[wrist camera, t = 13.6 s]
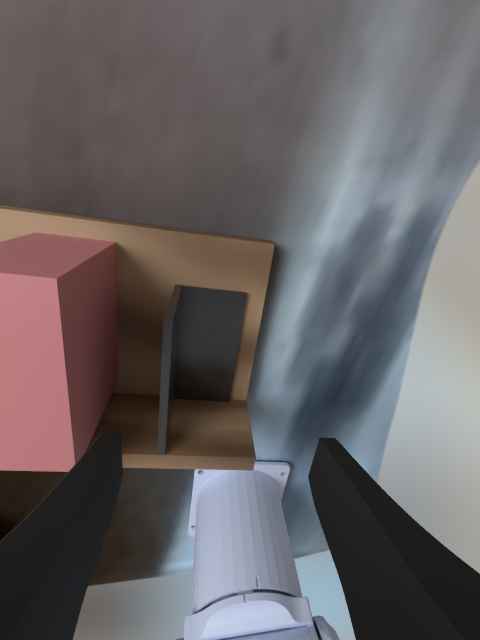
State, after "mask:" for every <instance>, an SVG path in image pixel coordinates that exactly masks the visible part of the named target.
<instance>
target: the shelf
mask: <svg viewBox="0 0 480 640" xmlns="http://www.w3.org/2000/svg"><path fill="white" fill-rule="evenodd" d="M35 232H39V233H47V234H55V235H63V236H71V237H79V238H88V239H96V240H104V241H112V242H116V277H117V327H118V377H119V380H118V382H117V385H116V387H115V389H114V391H113V393H112V395H111V398H110V400H109V402H108V404H107V406H106V408H105V410H104V413H103V415H102V417H101V419H100V421H99V423H98V426H97V428H96V430H95V432H94V434H93V436H92V438H91V441H90V443H89V445H88V447H87V449H86V451H87V450H88V448H89V447H90V446H91V445H92V443H93V442H94V441H95V440H96V438H97V437H98V436H99V434H101V433H102V432H121V439H122V464H123V468H163V469H205V470H247V471H253V469H254V464H255V460H256V456H255V450H254V444H253V438H252V432H251V426H250V420H249V414H248V408H247V402H246V399H247V393H248V388H249V382H250V377H251V371H252V366H253V361H254V355H255V350H256V344H257V339H258V333H259V328H260V323H261V317H262V312H263V306H264V301H265V295H266V290H267V284H268V279H269V274H270V268H271V263H272V257H273V252H274V246H275V244H274V243H273V242H272V241H269V240H261V239H253V238H246V237H238V236H231V235H223V234H216V233H208V232H200V231H193V230H185V229H178V228H170V227H162V226H155V225H147V224H140V223H132V222H125V221H117V220H109V219H102V218H94V217H87V216H79V215H72V214H64V213H56V212H49V211H41V210H34V209H26V208H18V207H11V206H3V205H0V242H3V241H6V240H10V239H13V238H17V237H21V236H24V235H28V234H31V233H35ZM175 285H185V286H194V287H203V288H213V289H222V290H231V291H241V292H246V293H247V296H246V302H245V308H244V315H243V321H242V327H241V334H240V340H239V346H238V353H237V359H236V365H235V372H234V378H233V384H232V391H231V397H230V402H219V401H201V400H183V399H174V403H173V409H172V415H171V421H170V428H169V434H168V440H167V446H166V452H165V455H157V451H158V429H159V407H160V385H161V363H162V341H163V319H164V316H165V313H166V310H167V308H168V305H169V302H170V299H171V296H172V293H173V290H174V287H175ZM86 451H85V452H86Z"/></svg>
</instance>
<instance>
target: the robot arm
mask: <svg viewBox="0 0 480 640" xmlns="http://www.w3.org/2000/svg"><path fill="white" fill-rule="evenodd" d="M289 472H290V466H289V464H288V463H286V462H258V461H255V464H254V469H253V471H247V470H205V469H195V473H194V482H193V491H192V499H191V508H190V517H189V526H188V535H189V536H190V537H195V550H194V577H193V598H192V615H187V616H186V617H185V627H184V638H179V639H176V640H339V637H338V635H337V633H336V631H335V630H334V629H333V628H332V627H331V626H330V625H329V624H328V623H327V622H326V620H325V619H324V618H323V617H322V616H314V617H312V614H311V610H310V606H309V602H308V598H307V597H302V593H301V589H300V584H299V580H298V575H297V571H296V567H295V562H294V557H293V553H292V549H291V544H290V540H289V535H288V531H287V526H286V522H285V517H284V513H283V508H282V504H281V500H282V496H283V493H284V489H285V486H286V482H287V479H288V475H289ZM122 476H123V464H122V439H121V432H102V433H101V434H99V436H98V437H97V438H96V440H95V441H94V442H93V443H92V445H91V446H90V447H89V448H88V450H87V451H86V452H85V453H84V454H83V456H82V457H81V458H80V459H79V460H78V461H77V463H76V464H75V465H74V466H73V467H72V468H71V470H70V471H69V472H68V473H67V474H66V475H65V476H64V477H63V478H62V480H61V481H60V482H59V483H58V484H57V485H56V486H55V487H54V488H53V490H52V491H51V492H50V493H49V494H48V495H47V496H46V497H45V498H44V499H43V500H42V501H41V502H40V503H39V504H38V505H37V506H36V507H35V508H34V509H33V510H32V511H31V512H30V513H29V514H28V515H27V516H26V517H25V518H24V519H23V520H22V521H21V522H20V523H19V524H18V525H17V526H16V527H15V528H14V529H13V530H12V531H11V532H10V533H8V534H7V535H6V536H5V537H4V538H3V539H2V540H1V541H0V640H73V636H74V632H75V628H76V624H77V621H78V617H79V614H80V610H81V606H82V602H83V599H84V596H85V593H86V590H87V587H88V583H89V581H90V578H91V575H92V572H93V569H94V566H95V563H96V561H97V558H98V555H99V552H100V549H101V546H102V543H103V541H104V538H105V535H106V532H107V529H108V526H109V523H110V520H111V518H112V515H113V512H114V509H115V506H116V502H117V498H118V493H119V489H120V485H121V481H122ZM308 478H309V482H310V487H311V492H312V496H313V500H314V505H315V508H316V511H317V514H318V517H319V520H320V523H321V526H322V529H323V532H324V535H325V537H326V540H327V543H328V546H329V549H330V552H331V555H332V558H333V561H334V563H335V566H336V569H337V572H338V575H339V578H340V581H341V585H342V588H343V591H344V594H345V599H346V602H347V606H348V610H349V614H350V618H351V622H352V626H353V629H354V634H355V638H356V640H480V574H479V573H478V572H476V571H475V570H474V569H473V568H471V567H470V566H469V565H468V564H466V563H465V562H464V561H462V560H461V559H460V558H459V557H457V556H456V555H455V554H454V553H452V552H451V551H450V550H449V549H447V548H446V547H445V546H444V545H443V544H441V543H440V542H439V541H438V540H437V539H435V538H434V537H433V536H432V535H431V534H430V533H428V532H427V531H426V530H425V529H424V528H423V527H421V526H420V525H419V524H418V523H417V522H416V521H415V520H414V519H413V518H412V517H411V516H409V515H408V514H407V513H406V512H405V511H404V510H403V509H402V508H401V507H400V506H399V505H398V504H397V503H396V502H395V501H394V500H393V499H392V498H391V497H390V496H389V495H388V494H387V493H386V492H385V491H384V490H383V489H382V488H381V487H380V486H379V485H378V484H377V483H376V482H375V481H374V480H373V479H372V478H371V477H370V475H369V474H368V473H367V472H366V471H365V470H364V469H363V468H362V467H361V466H360V465H359V464H358V462H357V461H356V460H355V459H354V458H353V457H352V456H351V455H350V454H349V453H348V452H347V450H346V449H345V448H344V447H343V446H342V445H341V444H340V443H339V442H338V441H337V440H336V439H335V438H320V439H319V442H318V445H317V449H316V452H315V456H314V459H313V462H312V466H311V469H310V472H309V476H308Z"/></svg>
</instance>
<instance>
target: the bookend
mask: <svg viewBox="0 0 480 640" xmlns="http://www.w3.org/2000/svg"><path fill="white" fill-rule="evenodd" d="M246 296H247V293H246V292H241V291H231V290H222V289H213V288H203V287H194V286H185V285H175V287H174V290H173V293H172V296H171V299H170V302H169V305H168V308H167V310H166V313H165V316H164V319H163V341H162V363H161V385H160V407H159V429H158V451H157V455H165V452H166V446H167V440H168V434H169V428H170V421H171V415H172V409H173V403H174V399H183V400H201V401H219V402H230V397H231V391H232V384H233V378H234V372H235V365H236V359H237V353H238V346H239V340H240V334H241V327H242V321H243V315H244V308H245V302H246Z"/></svg>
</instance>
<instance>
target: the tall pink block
mask: <svg viewBox="0 0 480 640" xmlns="http://www.w3.org/2000/svg"><path fill="white" fill-rule="evenodd" d="M118 380H119V377H118V327H117V277H116V242H112V241H104V240H96V239H88V238H79V237H71V236H63V235H55V234H47V233H39V232H35V233H31V234H28V235H24V236H21V237H17V238H13V239H10V240H6V241H3V242H0V470H14V471H61V472H69V471H70V470H71V468H72V467H73V466H74V465H75V464H76V463H77V461H78V460H79V459H80V458H81V457H82V456H83V454H84V453H85V451H86V449H87V447H88V445H89V443H90V441H91V438H92V436H93V434H94V432H95V430H96V428H97V426H98V423H99V421H100V419H101V417H102V415H103V413H104V410H105V408H106V406H107V404H108V402H109V400H110V398H111V395H112V393H113V391H114V389H115V387H116V385H117V382H118Z"/></svg>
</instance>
